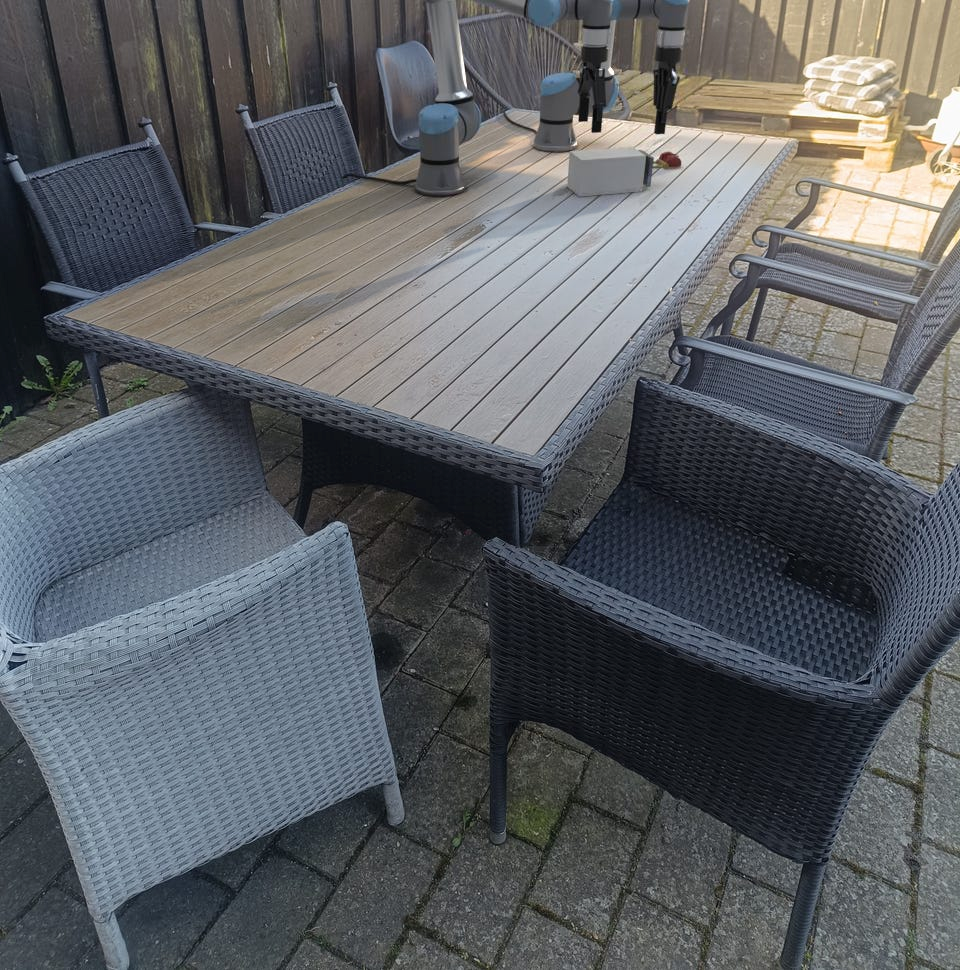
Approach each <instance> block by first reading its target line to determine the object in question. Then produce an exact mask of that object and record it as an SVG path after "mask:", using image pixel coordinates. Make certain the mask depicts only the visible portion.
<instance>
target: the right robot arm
mask: <svg viewBox="0 0 960 970" xmlns="http://www.w3.org/2000/svg"><path fill="white" fill-rule="evenodd" d="M689 5H690V0H613V2H612V11H611V22H610V31H611V35H609V44H608V45H606V46H608V48H609V50H608V60H607V61H606V62H602V63H601V68H605V91H606V107H604V108H603V113H608V112H610V111H612V109H613V108H614V107H615V105H616V102H617V100H618V96H619V88H620V87H619V81H618V78H617V77H616V76H615V72H614V70H613V68H612V67H611V64H612V54H613V48H614V39H615V31H616V25H617V24H616V23H617V21H623V20H625V21H626V20H646V19H656V20H658V27H657V33H656V34H657V35H656V47H655V54H654V60H655V62H657V63H658V65H657V68H655V69H653V70H652V74H653V101H652V103H653V104H652V105H653V106H655V109H656V113H655V121H654V130H653V134H655V135H665V134H666V127H667V119H668V112H669V111H672V110H673V106H674V101H675V98H676V93H677V88H678V84H679V82H680V79H681V77H680V75H677V74H676V73H677V64H678V63H680V62H682V59H683V47H682V46H683V45H684V40H685V36H686V25H687V20H688V19H687V18H688V10H689ZM581 73H582V68H580V71H579V77H576V74H575V73H572V72H559V73H558V72H557V73H553V74H550V75H547V76H546V77H544V78H543V79H542V81H541V85H540V92H539V95H540V101H539V102H540V105H539V125H538V127H537V130H536V129H534V128H531V127H528V126H525V125H523V124H520V123H517V122H515V121H513V120H512V119H510V117H508V115H507V113H506V111H504V110H503V111H502V113H503V115H504V117H505V119H506V120H507V121H508V122H510V123H511V124H512V125H515V126H517V127H519V128H522V129H524V130H528V131H530V132H533V133H535V136H534V140H533V148H534V149H536V150H538V151H543V152H550V153H563V152H570V151H574V150H575V149H577V145H578V144H577V143H578V141H577V135H576V132H575V129H574V128H575V127H574V115H579V103H580V98H581V97H580V96H579V94H578V87H579V82H580V77H581ZM589 93H590V96H591V97H589V111H588V115H589V114H593V109H592V106H593V105H594V100H593V92H592V87H591V90H590V92H589Z"/></svg>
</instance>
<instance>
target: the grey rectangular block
mask: <svg viewBox="0 0 960 970" xmlns="http://www.w3.org/2000/svg"><path fill="white" fill-rule="evenodd" d="M638 150H639V149H636V148H635V147H633V146H624V147H622V146H621V147H609V148H608V147H607V148H596V149H581V150H570V151H569V153H568V154H569V155H568V168H567V169H568V171H567V188H568V189H569V190H570V191H572V192H573V193H574V194H575V195H576V196H578V197H591V196H602V195H603V196H605V195H615V194H628V193H641V192H643V188H644V185H643V180H644V171H645V162H646V155H645V154H643V153H641V152H640V151H638Z"/></svg>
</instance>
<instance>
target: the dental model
mask: <svg viewBox="0 0 960 970" xmlns="http://www.w3.org/2000/svg"><path fill="white" fill-rule="evenodd" d="M658 159H660V160H662V161H663V162H665V163H667V164H668V165H669V168H677V167H678V168H681V166H682V160H681V158H680V156H679V154H677V153H674V152H672V151H664V152H662V153H661V154H660V155H659V157H658Z"/></svg>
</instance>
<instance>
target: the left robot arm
mask: <svg viewBox="0 0 960 970" xmlns="http://www.w3.org/2000/svg"><path fill="white" fill-rule="evenodd" d="M423 1H424V3H425V7H426V12H427V21H428V27H429V34H430V40H431V47H432V53H433V60H434V66H435V67H434V68H435V73H436V74H435V75H436V79H437V81H436V82H437V87H438V94H437V96H436V98H434V101H435V103H433V104H429V105H427V106H425V107H422V109H421V110H420V111H419V113H418V122H417V124H418V136H419V138H418V139H419V157H420V158H419V159H420V161H419V162H420V164H419V168H418V172H417V176H416V178H413V179H407V180H393V179H387V178H381V177H376V176H375V177H374V176H368V175H362V174H357V173H354V172H348V173H345V174H344V175H343V176H342V177H341V180H345V179H347V178H348V177H354V178H358V179H360V180H361V179H362V180H369V181H375V182H380V183H381V182H382V183H387V184H392V185H393V184H394V185H401V186H402V185H403V186H404V185H409V184H413V183H415V185H414V186H415V192H417V193H418V194H420V195H424V196H430V197H450V196H455V195H459V194H461V193H463V192H464V191H466V181H465V179H464V176H463V172H462V169H461V165H460V146H461V145H463V144H465V143H467V142H469V141H471V140H472V139H473V138H474V137H475V136H476V135H477V134H478V132H479V130H480V128H481V126H482V113H481V110H480V108H479V106H478V105H477V104H476V102H475V100H474V94H473V92H472V91H471V90H469V89H468V86H467V78H466V70H465V63H464V55H463V47H462V42H461V41H462V39H461V32H460V25H459V18H458V9H457V2H456V0H423ZM469 1H470V2H472V3H477V4H479V5H483V6H485V7H488V8H492V9H495V10H497V11H501V12H504V13H507V14H510V15H513V16H517V17H519V18H523V19H526V20H528V21H530V22H531V23H532V24H534V25H535V27H536V26H537V27H538V28H539V27H540V28H548V27H551V26H553V25H554V24H556V23H559V22H561V21H565V20H566V21H567V20H571V21H582V27H581V28H582V29H581V44H582V46H581V49H580V61H581V62H582V67H581V69H582V73H581V77H580V76H579V77H580V82H579V87H578V94H579V96H580V97H581V98H580V103H579V114H578V123H586V122H587V123H588V122H589V114H588V111H589V97H591V96H590V93H589V92H590V90H591V87H592V92H593V100H594V105H593V106H592V109H593V113H592V114H591V128H590V129H591V130H590V131H591V132H590V133H592V134H598V133H599V134H601V133H602V128H603V127H602V126H603V116H604V115H603V113H604V112H603V108H604V107H606V91H605V68H601V63H602V62H606V61H607V60H608V50H609V48H608V46H606V45H608V44H609V35H611V31H610V22H611V11H612V2H613V0H469Z"/></svg>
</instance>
